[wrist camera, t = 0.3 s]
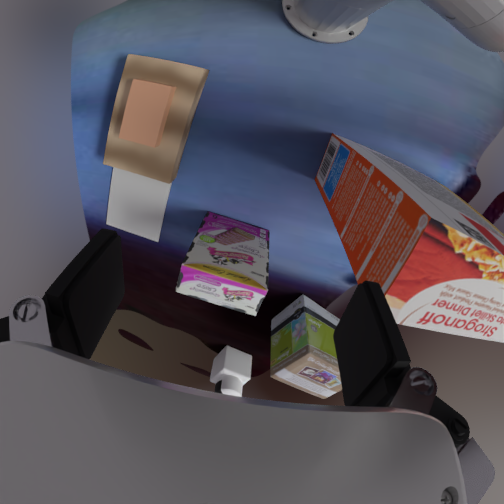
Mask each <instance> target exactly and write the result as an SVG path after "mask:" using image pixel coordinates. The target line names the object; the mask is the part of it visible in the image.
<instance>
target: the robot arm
mask: <svg viewBox="0 0 504 504" xmlns="http://www.w3.org/2000/svg"><path fill="white" fill-rule="evenodd" d="M391 1H392V0H282V9H283V12H284V15H285V17H286V19H287V21H288V22H289V23H290V24H291V26H292V27H293V28H294V29H295V30H297V31H298V32H299V33H300V34H302V35H304V36H305V37H307V38H309V39H312V40H314V41H318V42H321V43H329V44H334V43H342V42H346V41H348V40H351V39H353V38H355V37H356V36H358V35H359V34H360V33H361V32H362V31H363V29H364V28H365V26H366V24H367V21H368V16H369V15H370V14H372V13H374V12H375V11H377V10H378V9H380V8H381V7H383V6H385V5H386V4H388V3H389V2H391ZM421 1H422V2H423V3H425V4H426V5H427V6H429V7H430V8H431V9H433V10H434V11H435V12H436V13H438V14H439V15H440V16H441V17H443V18H444V19H445V20H446V21H447V22H449V23H450V24H451V25H452V26H453V27H455V28H456V29H457V30H458V31H459V32H460V33H461V34H463V35H464V36H465V37H466V38H467V39H469V40H470V41H471V42H473V43H474V44H476V45H477V46H479V47H481V48H483V49H485V50H488V51H492V52H504V0H421ZM286 8H290V10H287V9H286ZM349 33H351V35H349ZM312 34H315V36H312ZM124 291H125V288H124V278H123V266H122V252H121V238H120V236H119V235H117V232H116V231H113V230H108V229H101V230H100V231H99V232H98V233H97V234H96V235H95V236H94V237H93V238H92V239H91V240H90V242H89V243H88V244H87V245H86V246H85V247H84V248H83V249H82V250H81V251H80V252H79V254H78V255H77V256H76V257H75V258H74V259H73V260H72V262H71V263H70V264H69V265H68V266H67V267H66V268H65V269H64V271H63V272H62V273H61V274H60V275H59V277H58V278H57V279H56V280H55V281H54V283H53V284H52V285H51V286H50V287H49V289H48V290H47V291H46V292H45V295H44V296H43V298H42V299H41V298H40V297H38V296H36V295H26V296H23V297H21V298H19V299H17V300H16V301H15V302H14V303H13V304H12V306H11V308H10V312H9V316H8V317H5V318H2V319H0V504H478V503H479V501H480V500H481V498H482V497H483V496H484V494H485V493H486V491H487V489H488V488H489V486H490V485H491V483H492V482H493V479H494V475H495V471H494V467H493V465H492V463H491V462H490V460H489V459H488V458H487V456H486V455H485V454H484V452H483V451H482V449H481V448H480V447H479V445H478V444H477V443H476V441H475V440H474V439H473V437H472V438H470V439H469V433H470V431H469V426H468V423H467V421H466V420H465V418H464V417H462V415H460V414H459V413H458V412H456V411H455V410H454V409H453V408H451V407H450V406H449V405H447V404H446V403H445V402H443V401H442V400H441V399H439V398H438V397H437V396H436V393H437V383H436V381H435V379H434V377H433V376H432V375H431V374H430V373H429V372H428V371H427V370H425V369H423V368H420V367H413V368H411V367H410V364H409V363H410V362H411V360H410V357H409V355H408V352H407V349H406V347H405V344H404V341H403V339H402V336H401V334H400V331H399V329H398V326H397V324H396V321H395V319H394V316H393V314H392V312H391V309H390V307H389V305H388V302H387V300H386V298H385V295H384V293H383V291H382V289H381V286H380V284H379V283H377V282H372V281H367V280H366V281H364V282H363V283H360V284H359V285H358V287H357V288H356V290H355V292H354V294H353V296H352V298H351V300H350V302H349V304H348V306H347V308H346V310H345V312H344V313H343V316H342V317H341V319H340V321H339V323H338V325H337V326H336V328H335V330H334V334H333V339H334V344H335V349H336V355H337V361H338V366H339V372H340V378H341V384H342V391H343V397H344V403H345V406H331V405H312V404H299V403H287V402H278V401H269V400H261V399H253V398H245V397H239V396H233V395H227V394H221V393H215V392H210V391H204V390H200V389H195V388H190V387H185V386H181V385H177V384H172V383H168V382H164V381H160V380H156V379H152V378H148V377H144V376H141V375H137V374H134V373H130V372H127V371H124V370H120V369H117V368H114V367H111V366H107V365H104V364H101V363H98V362H95V361H92V360H89V359H90V358H91V356H92V354H93V352H94V350H95V348H96V346H97V344H98V342H99V340H100V338H101V337H102V335H103V333H104V331H105V329H106V327H107V325H108V324H109V321H110V320H111V318H112V316H113V314H114V313H115V311H116V309H117V307H118V305H119V304H120V302H121V300H122V298H123V296H124Z"/></svg>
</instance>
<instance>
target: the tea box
mask: <svg viewBox="0 0 504 504" xmlns="http://www.w3.org/2000/svg"><path fill="white" fill-rule="evenodd" d="M339 321H340V319H338V318H337V317H335V316H334V315H332V314H331V313H329V312H328V311H327V310H325V309H324V308H322V307H321V306H319V305H318V304H316V303H315V302H314V301H312V300H311V299H309V298H308V297H306V296H305V295H303V294H302V295H301V296H300V297H299V298H298V299H296V300H295V301H294V302H293V303H291V304H290V305H289V306H288V307H286V308H285V309H284V310H283V311H282V312H280V313H279V314H278V315H277V316H275V317H274V318H273V319H272V321H271V377H272V378H274V379H276V380H279V381H281V382H283V383H286V384H288V385H291V386H293V387H295V388H298V389H300V390H302V391H305V392H307V393H310V394H312V395H315V396H318V397H320V398H322V399H325V398H327V397H329V396H331V395H333V394H335V393H336V392H338V391H340V390H342V384H341V378H340V372H339V366H338V361H337V355H336V349H335V344H334V339H333V334H334V330H335V328H336V326H337V325H338V323H339Z"/></svg>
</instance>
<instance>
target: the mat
mask: <svg viewBox="0 0 504 504" xmlns="http://www.w3.org/2000/svg"><path fill="white" fill-rule="evenodd" d="M171 184H172V182H171V183H170V184H168V183H165V182H161V181H158V180H155V179H152V178H148V177H145V176H142V175H139V174H135V173H132V172H129V171H125V170H122V169H119V168H115V167H113V173H112V180H111V187H110V195H109V203H108V212H107V223H106V224H108V225H110V226H113V227H116V228H119V229H122V230H125V231H127V232H130V233H133V234H136V235H139V236H142V237H145V238H148V239H150V240H153V241H156V242H158V241H159V237H160V232H161V227H162V222H163V218H164V213H165V209H166V205H167V200H168V196H169V192H170V188H171Z"/></svg>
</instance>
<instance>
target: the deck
mask: <svg viewBox="0 0 504 504" xmlns="http://www.w3.org/2000/svg"><path fill="white" fill-rule="evenodd" d="M208 73H209V70H207V69H204V68H200V67H196V66H191V65H187V64H182V63H178V62H173V61H168V60H163V59H157V58H152V57H146V56H139V55H132V54H128V57H127V60H126V63H125V66H124V70H123V73H122V77H121V81H120V84H119V88H118V92H117V96H116V100H115V104H114V108H113V113H112V117H111V122H110V127H109V132H108V138H107V143H106V149H105V155H104V161H103V164H105V165H108V166H112V167H115V168H119V169H122V170H125V171H129V172H132V173H135V174H139V175H142V176H145V177H148V178H152V179H155V180H158V181H161V182H165V183H168V184H170V183H171V182H172V181H173V180H174V179H175V178H176V176H177V172H178V169H179V165H180V161H181V158H182V154H183V151H184V147H185V144H186V140H187V137H188V133H189V130H190V127H191V124H192V120H193V117H194V114H195V111H196V108H197V105H198V102H199V99H200V96H201V93H202V90H203V87H204V84H205V81H206V79H207V76H208ZM133 79H143V80H148V81H153V82H158V83H163V84H167V85H171V86H176V90H175V93H174V96H173V99H172V103H171V106H170V109H169V113H168V116H167V120H166V123H165V127H164V131H163V134H162V138H161V142H160V145H159V146H157V147H155V148H154V147H150V146H147V145H143V144H139V143H136V142H132V141H128V140H124V139H120V138H119V134H120V129H121V125H122V120H123V116H124V112H125V108H126V103H127V100H128V96H129V92H130V88H131V85H132V81H133Z"/></svg>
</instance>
